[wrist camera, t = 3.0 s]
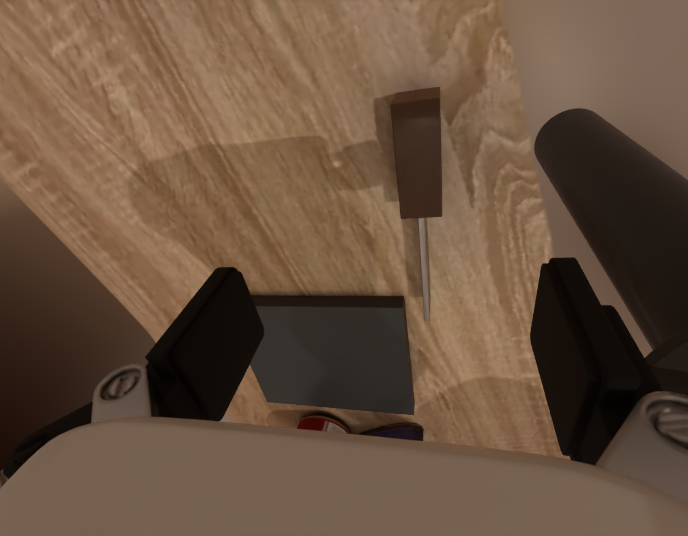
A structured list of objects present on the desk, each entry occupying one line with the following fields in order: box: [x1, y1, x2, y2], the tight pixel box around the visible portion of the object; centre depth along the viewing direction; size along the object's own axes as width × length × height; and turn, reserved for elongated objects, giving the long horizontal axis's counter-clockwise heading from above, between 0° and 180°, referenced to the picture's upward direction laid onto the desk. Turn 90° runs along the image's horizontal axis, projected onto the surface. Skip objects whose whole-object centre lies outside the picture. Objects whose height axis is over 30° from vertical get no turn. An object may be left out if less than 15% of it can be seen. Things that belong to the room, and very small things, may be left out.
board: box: [250, 296, 415, 415], centre depth 37 cm, size 17×15×2 cm
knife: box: [391, 87, 442, 321], centre depth 25 cm, size 16×3×3 cm, turn 10°
